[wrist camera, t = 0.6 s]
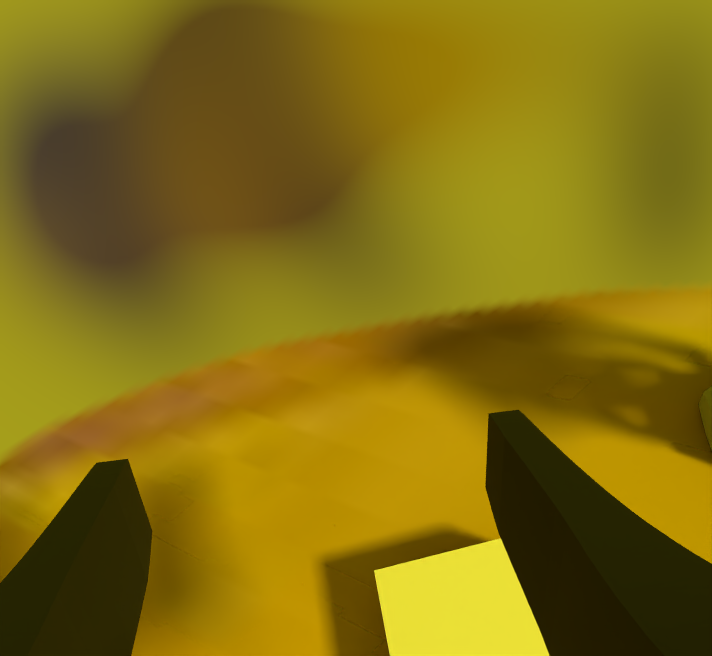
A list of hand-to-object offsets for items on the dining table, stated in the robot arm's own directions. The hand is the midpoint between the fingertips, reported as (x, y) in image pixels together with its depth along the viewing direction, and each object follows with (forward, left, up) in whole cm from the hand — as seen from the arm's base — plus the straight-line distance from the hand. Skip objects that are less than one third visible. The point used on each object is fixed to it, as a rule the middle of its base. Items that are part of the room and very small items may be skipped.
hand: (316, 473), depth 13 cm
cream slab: (-1, -1, -16) cm, 16 cm away
